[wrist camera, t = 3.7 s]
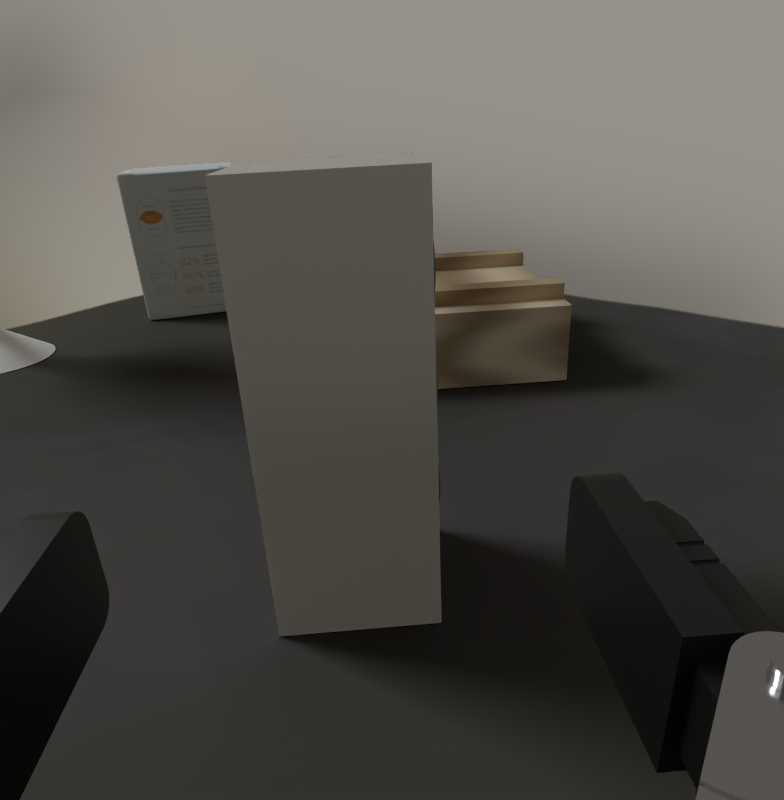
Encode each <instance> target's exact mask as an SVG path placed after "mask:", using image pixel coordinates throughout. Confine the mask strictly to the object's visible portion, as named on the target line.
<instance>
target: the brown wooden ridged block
mask: <svg viewBox="0 0 784 800" xmlns="http://www.w3.org/2000/svg"><path fill="white" fill-rule="evenodd" d="M435 270H436V286H435V343H436V365H437V377H438V389H446V388H460V387H474V386H488V385H503V384H517V383H531V382H545V381H559V380H566V379H567V365H568V351H569V336H570V322H571V308H572V305H571V304H570V303H568V302H567V301H566V300H565V299H563V298H564V282H562V281H561V280H560V279H558V278H547V279H539V278H538V277H537V276H535V275H534V274H533V273H532V272H531V271H529V270H528V269H527V268H526V267H525V266H523V252H522V251H521V250H519V249H509V250H493V251H479V252H478V251H477V252H461V253H445V254H435Z"/></svg>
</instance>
